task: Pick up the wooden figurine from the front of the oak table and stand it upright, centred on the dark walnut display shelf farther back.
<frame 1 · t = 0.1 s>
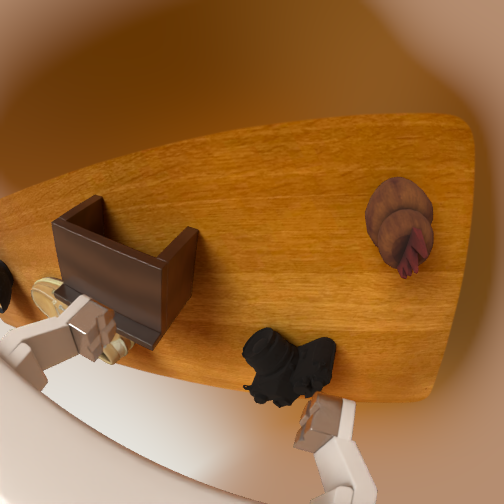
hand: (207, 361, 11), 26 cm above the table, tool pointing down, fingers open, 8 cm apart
bowl: (5, 271, 69), on the table
display shelf: (141, 245, 45), on the table
film camera: (285, 344, 47), on the table
boat shoe: (85, 303, 59), on the table
wooden figurine: (393, 197, 31), on the table
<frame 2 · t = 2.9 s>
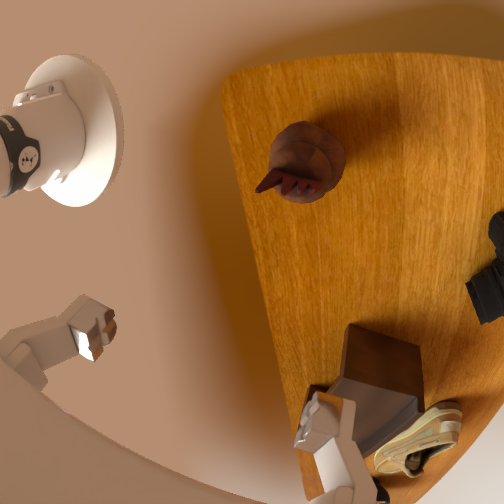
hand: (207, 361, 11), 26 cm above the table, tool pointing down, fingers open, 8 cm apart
bowl: (365, 481, 71), on the table
display shelf: (359, 371, 46), on the table
film camera: (495, 267, 31), on the table
boat shoe: (411, 432, 52), on the table
wooden figurine: (313, 147, 32), on the table
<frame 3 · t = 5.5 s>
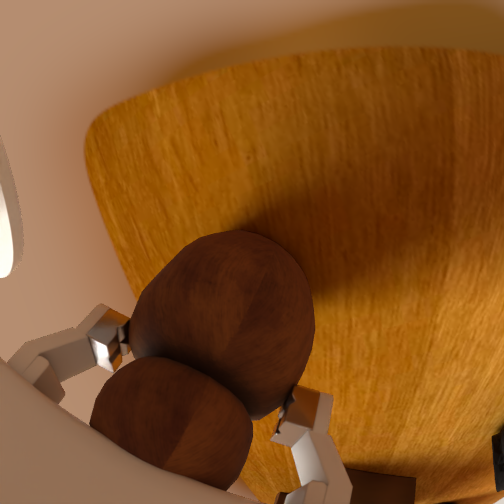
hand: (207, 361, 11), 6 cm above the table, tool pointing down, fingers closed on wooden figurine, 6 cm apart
display shelf: (338, 490, 30), on the table
wooden figurine: (257, 266, 16), on the table, touching gripper
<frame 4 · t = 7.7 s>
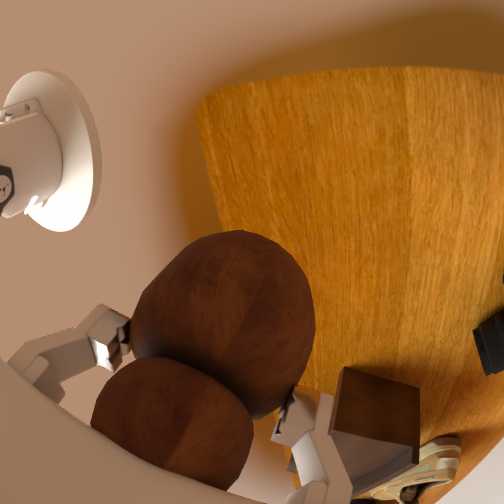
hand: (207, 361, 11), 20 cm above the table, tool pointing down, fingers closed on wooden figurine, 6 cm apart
bowl: (362, 501, 66), on the table
display shelf: (355, 409, 42), on the table
boat shoe: (408, 462, 48), on the table
wooden figurine: (257, 266, 16), point 14 cm above the table, touching gripper
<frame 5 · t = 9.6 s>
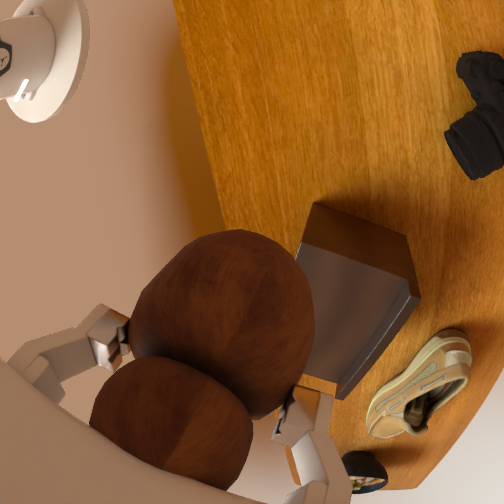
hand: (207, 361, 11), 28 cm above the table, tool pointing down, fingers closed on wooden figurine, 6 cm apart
bowl: (358, 456, 66), on the table
display shelf: (335, 277, 40), on the table
film camera: (478, 124, 25), on the table
boat shoe: (409, 380, 47), on the table
wooden figurine: (257, 266, 16), point 21 cm above the table, touching gripper
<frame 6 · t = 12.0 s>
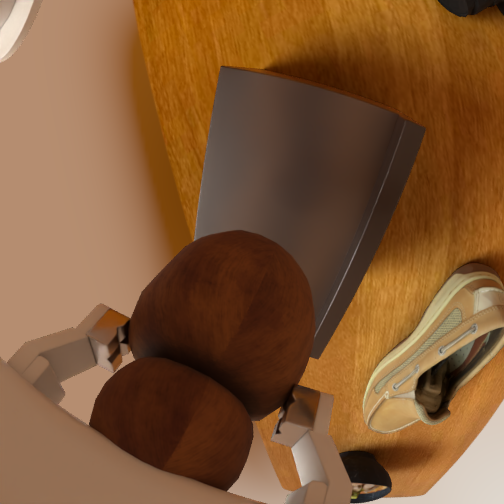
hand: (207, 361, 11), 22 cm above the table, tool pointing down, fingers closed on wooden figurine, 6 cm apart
bowl: (355, 457, 53), on the table
display shelf: (303, 178, 29), on the table
boat shoe: (420, 350, 35), on the table
wooden figurine: (257, 266, 16), point 15 cm above the table, touching gripper
when the fingers open (16 cm above the table, at t = 14.0 s): wooden figurine stays where it is, resting on display shelf.
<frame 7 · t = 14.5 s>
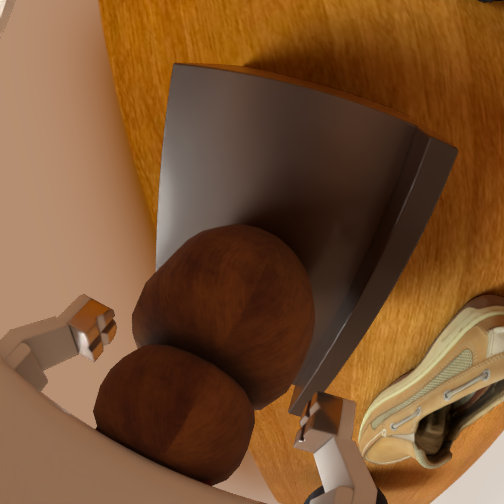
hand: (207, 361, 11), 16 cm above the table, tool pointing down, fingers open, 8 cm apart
bowl: (351, 478, 49), on the table
display shelf: (291, 197, 24), on the table
boat shoe: (423, 382, 30), on the table
wooden figurine: (258, 260, 16), point 9 cm above the table, touching display shelf
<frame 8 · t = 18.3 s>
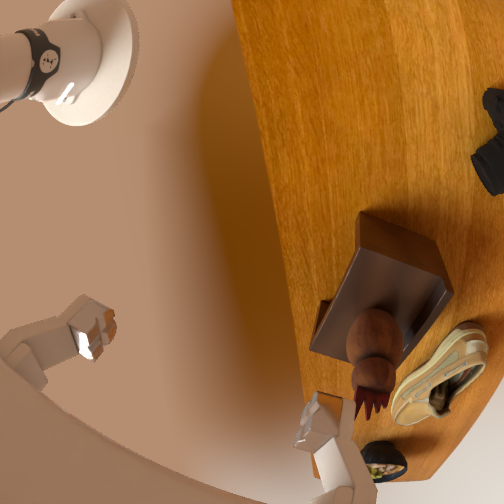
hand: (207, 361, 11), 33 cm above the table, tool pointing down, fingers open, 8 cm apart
bowl: (379, 446, 70), on the table
display shelf: (374, 277, 44), on the table
film camera: (497, 147, 29), on the table
boat shoe: (431, 370, 51), on the table
wooden figurine: (375, 318, 37), point 9 cm above the table, touching display shelf
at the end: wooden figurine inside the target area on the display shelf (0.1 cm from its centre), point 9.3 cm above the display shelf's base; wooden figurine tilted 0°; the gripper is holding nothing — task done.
